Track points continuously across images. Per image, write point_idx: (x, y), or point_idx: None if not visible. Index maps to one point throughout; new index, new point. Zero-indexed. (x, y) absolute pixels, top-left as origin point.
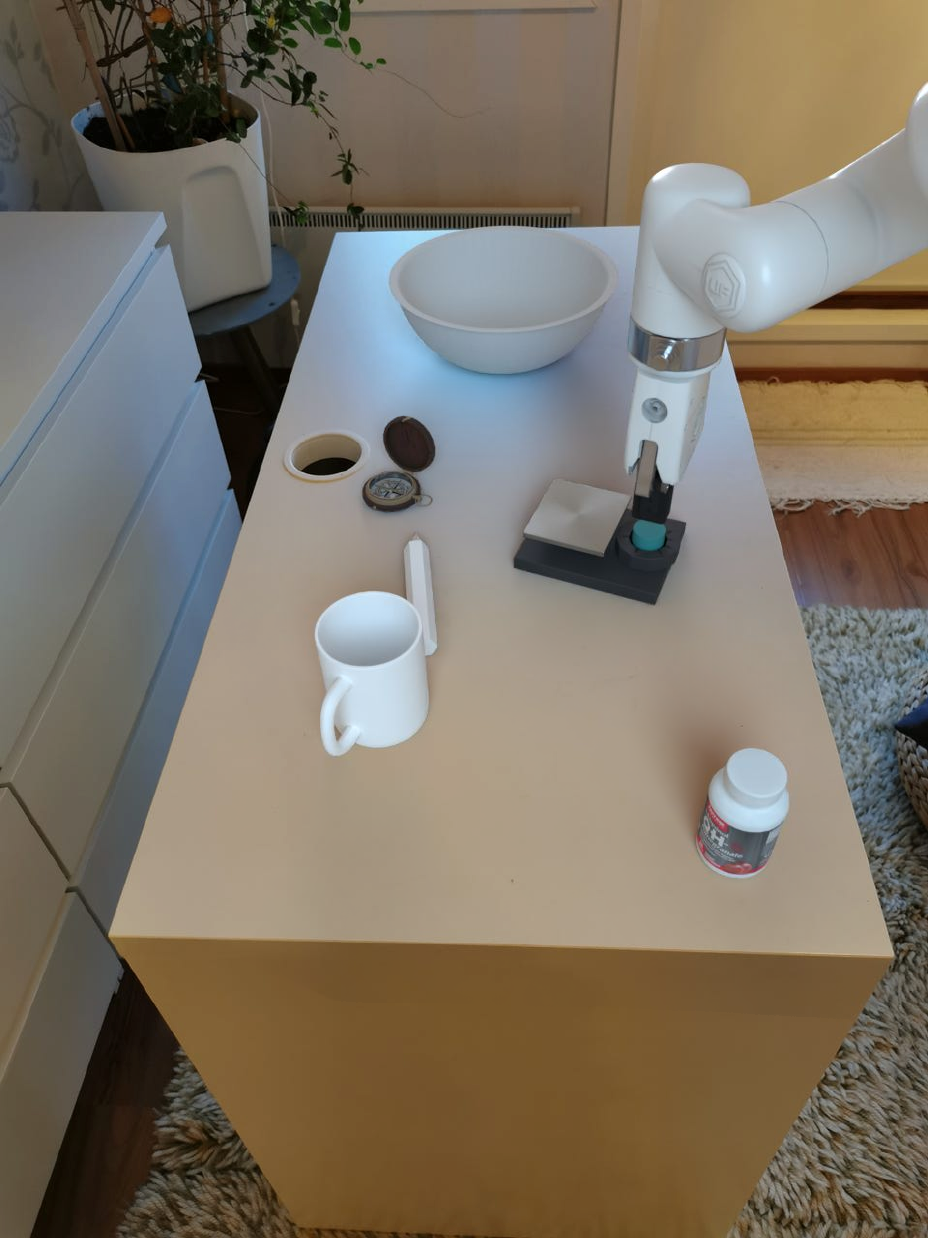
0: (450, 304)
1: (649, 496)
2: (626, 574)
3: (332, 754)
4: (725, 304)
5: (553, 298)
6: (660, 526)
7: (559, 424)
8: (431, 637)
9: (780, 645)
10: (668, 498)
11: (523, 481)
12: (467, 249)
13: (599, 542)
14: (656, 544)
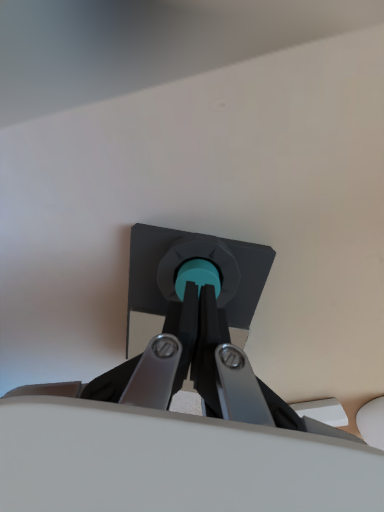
0: None
1: (353, 438)
2: (244, 286)
3: None
4: None
5: None
6: (190, 276)
7: (12, 353)
8: (341, 415)
9: (347, 64)
10: (217, 321)
11: (110, 369)
12: None
13: (232, 336)
14: (216, 272)
